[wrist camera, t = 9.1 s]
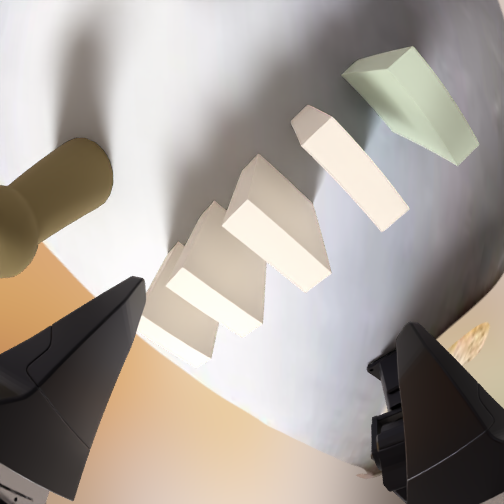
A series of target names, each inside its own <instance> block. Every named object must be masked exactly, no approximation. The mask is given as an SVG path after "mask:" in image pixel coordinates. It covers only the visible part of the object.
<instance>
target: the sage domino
mask: <svg viewBox="0 0 504 504" xmlns="http://www.w3.org/2000/svg"><path fill="white" fill-rule="evenodd" d="M341 76H342V77H343V78H344V79H345V80H346V81H347V82H348V83H349V84H350V85H351V86H352V87H353V88H354V89H355V90H356V91H357V92H358V93H359V94H360V95H361V96H362V97H363V98H364V99H365V100H366V102H367V103H368V104H369V105H370V106H371V107H372V108H373V109H374V110H375V112H376V113H377V114H378V115H379V116H380V117H381V118H382V120H383V121H384V122H385V123H386V124H387V126H388V127H389V128H390V129H391V130H392V132H394V133H396V134H398V135H400V136H402V137H404V138H406V139H408V140H411V141H413V142H415V143H416V144H418V145H420V146H422V147H424V148H426V149H428V150H430V151H432V152H434V153H435V154H437V155H439V156H441V157H443V158H444V159H446V160H448V161H450V162H451V163H453V164H455V165H456V166H459V165H460V164H461V163H462V162H463V161H464V160H465V159H466V158H467V157H468V156H469V155H470V154H471V152H472V151H473V150H474V149H475V148H476V147H477V146H478V145H479V143H478V141H477V139H476V137H475V135H474V133H473V131H472V130H471V128H470V126H469V124H468V123H467V121H466V119H465V118H464V116H463V114H462V113H461V111H460V110H459V108H458V106H457V105H456V103H455V102H454V100H453V99H452V97H451V96H450V94H449V93H448V91H447V90H446V88H445V87H444V85H443V84H442V83H441V81H440V80H439V78H438V77H437V76H436V74H435V73H434V72H433V70H432V69H431V68H430V66H429V65H428V64H427V63H426V61H425V60H424V59H423V58H422V56H421V55H420V54H419V53H418V52H417V50H416V49H415V48H414V47H413V46H411V47H406V48H402V49H397V50H393V51H389V52H385V53H381V54H377V55H373V56H369V57H365V58H362V59H358V60H357V61H356V62H355V63H353V64H352V65H351V66H350V67H349V68H348V69H347V70H346V71H345V72H344V73H342V74H341Z"/></svg>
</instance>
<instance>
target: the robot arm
mask: <svg viewBox="0 0 504 504" xmlns="http://www.w3.org/2000/svg"><path fill="white" fill-rule="evenodd" d="M145 303H146V290H145V281H144V279H143V278H140V277H135V276H131V277H129V278H128V279H126V280H124V281H123V282H121V283H119V284H117V285H116V286H114V287H112V288H111V289H109V290H107V291H106V292H104V293H102V294H101V295H99V296H97V297H96V298H94V299H92V300H91V301H89V302H88V303H86V304H84V305H83V306H81V307H80V308H78V309H76V310H75V311H73V312H71V313H70V314H68V315H66V316H65V317H63V318H62V319H60V320H59V321H57V322H55V323H54V324H52V326H49V327H47V328H46V329H44V330H43V331H41V332H39V333H38V334H36V335H34V336H33V337H31V338H30V339H28V340H26V341H24V342H22V343H20V344H19V345H17V346H15V347H13V348H11V349H9V350H7V351H5V352H3V353H1V354H0V504H46V500H47V497H48V494H49V491H51V492H53V493H55V494H57V495H60V496H62V497H64V498H67V499H69V500H71V501H74V498H75V495H76V492H77V488H78V485H79V482H80V479H81V475H82V472H83V469H84V467H85V463H86V461H87V458H88V455H89V452H90V448H91V446H92V443H93V440H94V437H95V434H96V432H97V429H98V426H99V424H100V421H101V419H102V416H103V413H104V411H105V408H106V406H107V403H108V401H109V398H110V396H111V393H112V391H113V388H114V386H115V383H116V381H117V379H118V376H119V374H120V371H121V369H122V367H123V364H124V362H125V360H126V357H127V355H128V353H129V351H130V348H131V346H132V343H133V341H134V337H135V334H136V331H137V328H138V325H139V322H140V319H141V316H142V313H143V310H144V307H145ZM396 348H397V349H395V350H394V351H392V352H391V353H389V354H387V355H386V356H384V357H382V358H381V359H379V360H377V361H376V362H374V363H372V364H371V365H369V366H368V367H367V371H368V372H369V373H370V374H372V375H373V376H375V377H376V378H378V379H379V380H381V382H382V386H383V391H384V395H385V400H386V404H387V409H388V412H387V413H384V414H382V415H379V416H375V417H372V424H371V430H372V451H371V459H372V460H374V461H375V463H376V465H377V467H378V469H379V470H380V471H382V476H383V484H384V486H385V487H386V488H387V489H388V490H389V491H393V492H394V493H395V494H396V495H398V496H399V497H400V498H401V499H402V500H403V501H404V502H405V503H406V504H504V409H503V408H502V407H501V406H500V405H499V404H498V403H497V402H496V401H495V400H494V399H493V398H492V397H491V396H490V395H489V394H488V393H487V392H486V391H485V390H484V388H483V387H482V386H481V385H480V384H479V383H477V381H476V380H475V379H474V378H473V377H472V376H471V375H470V374H469V373H468V372H467V371H466V370H465V368H463V366H462V365H461V364H460V363H459V362H458V361H457V360H456V359H455V358H454V357H453V356H452V355H451V354H450V353H449V352H448V351H447V350H446V349H445V348H444V347H443V346H442V345H441V344H440V343H439V342H438V341H437V340H436V339H435V338H434V337H433V336H432V335H431V334H429V333H428V332H427V331H426V330H425V329H424V328H423V327H422V326H421V325H420V324H419V323H417V322H408V323H407V324H406V325H405V327H404V328H403V330H402V331H401V333H400V334H399V336H398V337H397V341H396Z"/></svg>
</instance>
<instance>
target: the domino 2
mask: <svg viewBox="0 0 504 504" xmlns="http://www.w3.org/2000/svg"><path fill="white" fill-rule="evenodd" d="M226 212H227V210H225V209H224V208H223V207H222V206H220V205H219V204H218V203H217V202H216V201H213V202H212V204H211V205H210V206H209V207H208V208H207V209H206V210H205V211H204V212H203V214H202V215H201V216H200V218H199V220H198V222H197V223H196V225H195V227H194V229H193V231H192V233H191V235H190V237H189V239H188V241H187V243H186V245H185V247H184V249H183V251H182V253H181V255H180V257H179V259H178V261H177V263H176V265H175V267H174V269H173V271H172V273H171V275H170V277H169V279H168V281H167V283H166V285H165V286H166V287H167V288H169V289H170V290H172V291H173V292H174V293H176V294H177V295H179V296H180V297H182V298H183V299H184V300H186V301H187V302H189V303H190V304H192V305H193V306H195V307H196V308H197V309H199V310H200V311H202V312H203V313H205V314H206V315H208V316H209V317H211V318H212V319H214V320H215V321H217V322H218V323H220V324H221V325H223V326H225V327H226V328H228V329H229V330H231V331H232V332H234V333H235V334H237V335H239V336H240V337H242V338H243V337H245V336H246V335H248V334H249V333H250V332H252V331H253V330H255V329H256V328H258V327H259V326H261V325H262V324H263V314H264V297H265V280H266V261H265V260H264V259H262V258H261V257H260V256H259V255H257V254H256V253H255V252H254V251H252V250H251V249H250V248H249V247H247V246H246V245H245V244H244V243H242V242H241V241H240V240H239V239H237V238H236V237H235V236H234V235H232V234H231V233H230V232H229V231H227V230H226V229H225V228H224V227H222V223H223V220H224V217H225V215H226Z"/></svg>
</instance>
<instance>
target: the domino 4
mask: <svg viewBox="0 0 504 504" xmlns="http://www.w3.org/2000/svg"><path fill="white" fill-rule="evenodd" d="M290 122H291V125H292V127H293V129H294V131H295V133H296V136H297V138H298V140H299V142H300V145H301V146H302V147H303V148H304V149H305V150H306V151H307V152H308V153H309V154H310V155H311V156H312V157H313V158H314V159H315V160H316V161H317V162H318V163H319V164H320V165H321V166H322V167H323V168H324V169H325V170H326V171H327V172H328V173H329V174H330V175H331V176H332V177H333V178H334V179H335V180H336V182H337V183H338V184H339V185H340V186H341V187H342V188H343V189H344V190H345V191H346V192H347V193H348V194H349V195H350V197H351V198H352V199H353V200H354V201H355V202H356V203H357V204H358V205H359V206H360V208H361V209H362V210H363V211H364V212H365V213H366V214H367V215H368V217H369V218H370V219H371V220H372V221H373V222H374V224H375V225H376V226H377V227H378V228H379V229H380V231H381V232H383V231H384V230H386V229H387V228H388V227H389V226H390V225H392V224H393V223H394V222H395V221H396V220H397V219H399V218H400V217H401V216H402V215H403V214H404V213H406V212H407V211H408V210H409V209H410V208H409V207H408V206H407V204H406V203H405V202H404V200H403V199H402V198H401V196H400V195H399V194H398V192H397V191H396V190H395V188H394V187H393V186H392V184H391V183H390V182H389V181H388V179H387V178H386V177H385V176H384V174H383V173H382V172H381V171H380V169H379V168H378V167H377V166H376V165H375V163H374V162H373V161H372V160H371V159H370V157H369V156H368V155H367V154H366V153H365V152H364V150H363V149H362V148H361V147H360V146H359V145H358V144H357V143H356V141H355V140H354V139H353V138H352V137H351V136H350V135H349V134H348V133H347V132H346V130H345V129H344V128H343V127H342V126H341V125H340V124H339V123H338V122H337V121H336V120H335V119H334V118H333V117H332V116H330V115H328V114H326V113H324V112H323V111H321V110H319V109H317V108H315V107H313V106H310V105H307V106H306V107H305V108H304V109H303V110H301V111H300V112H299V113H298V114H297V115H296V116H295V117H294V118H293V119H292V120H291V121H290Z"/></svg>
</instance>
